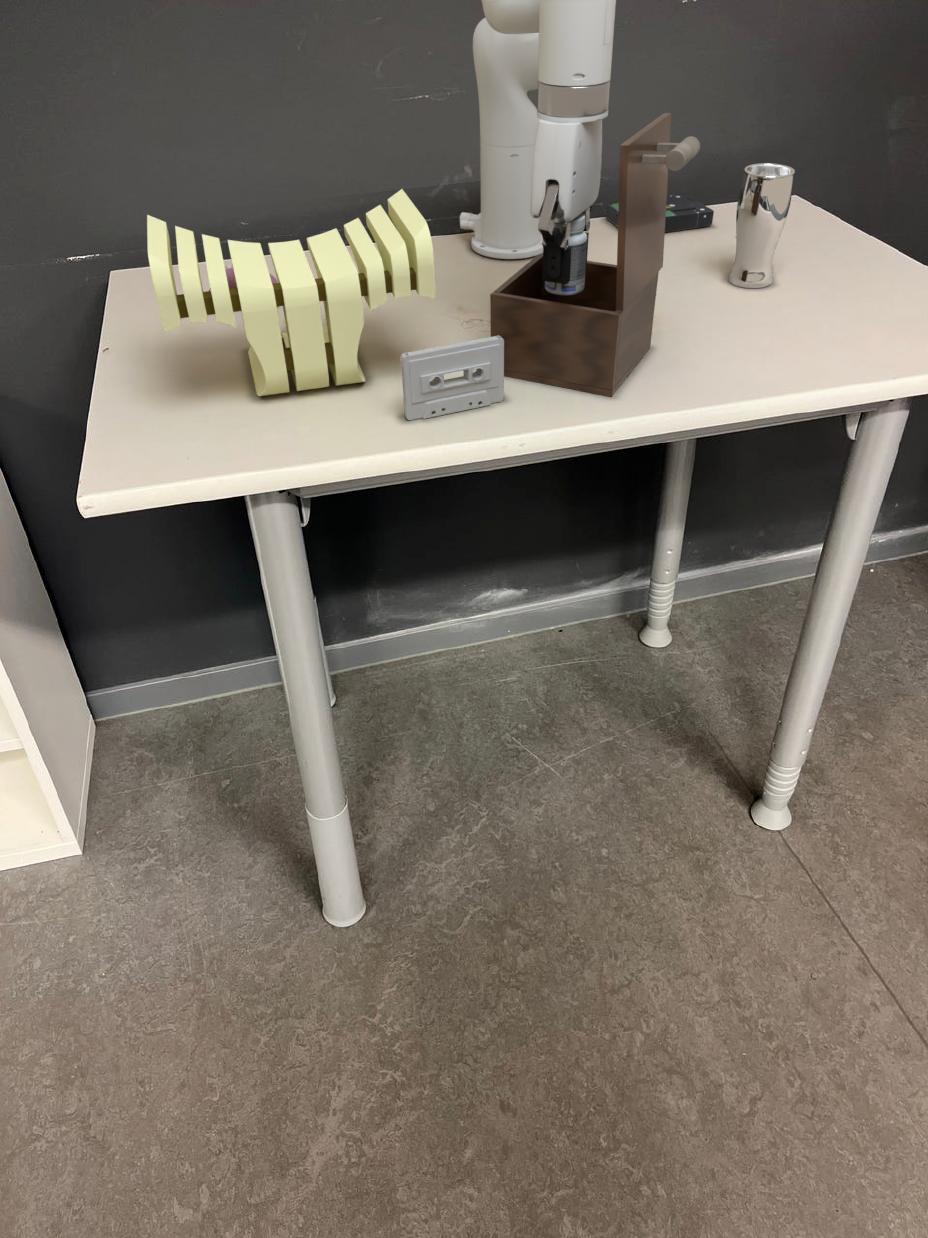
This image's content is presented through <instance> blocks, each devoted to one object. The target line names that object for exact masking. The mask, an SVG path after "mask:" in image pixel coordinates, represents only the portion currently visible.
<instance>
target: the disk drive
mask: <svg viewBox="0 0 928 1238" xmlns="http://www.w3.org/2000/svg"><path fill="white" fill-rule="evenodd" d="M618 207H619V201H614V202H607V203H606V210H605V213H606V214H605V218H606V219H607V220H608V221H609V222H610V223H611V224H613V225H615V226H616V227H617V228H618ZM714 213H715V211H714V210H713V209H712V208H710V207H708V206H707V205H705V204H703V203H702V202H700V201H699V200H692V196H690V195H689V194H687V193H678V194H671V195H667V201H666V219H665V233H668V232H670V233H671V232H678V231H686V230H692V229H693V230H694V229H700V228H705V227H708V226H712V225H713V219H714Z"/></svg>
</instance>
